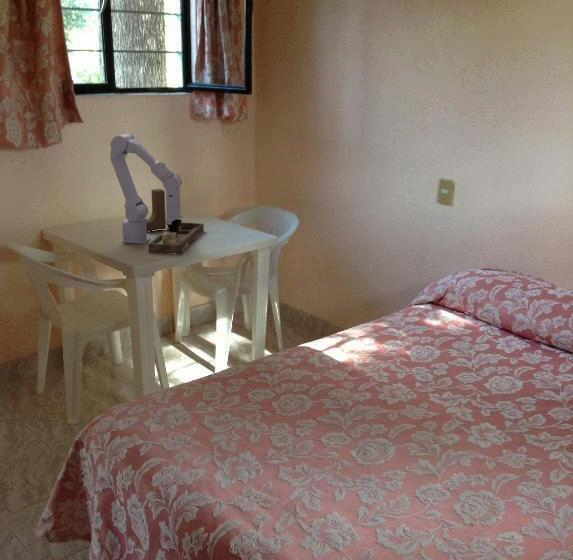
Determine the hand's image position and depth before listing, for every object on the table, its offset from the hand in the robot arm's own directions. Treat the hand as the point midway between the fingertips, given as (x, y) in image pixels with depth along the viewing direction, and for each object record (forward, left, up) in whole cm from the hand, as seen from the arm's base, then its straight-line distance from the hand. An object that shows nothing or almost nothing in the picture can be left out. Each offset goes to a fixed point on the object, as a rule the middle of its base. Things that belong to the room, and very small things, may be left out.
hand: (174, 237), depth 272 cm
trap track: (0, +5, -3) cm, 6 cm away
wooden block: (-15, +20, -3) cm, 25 cm away
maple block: (0, -7, -1) cm, 7 cm away
